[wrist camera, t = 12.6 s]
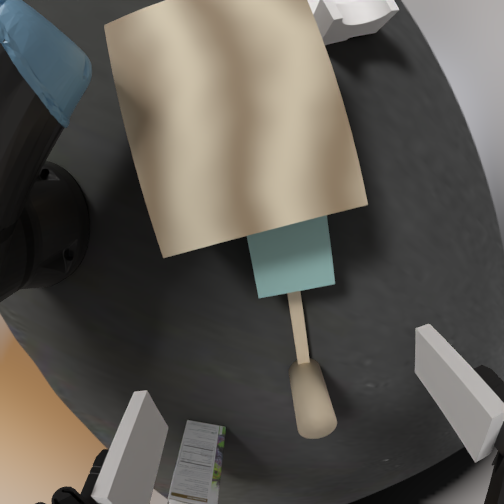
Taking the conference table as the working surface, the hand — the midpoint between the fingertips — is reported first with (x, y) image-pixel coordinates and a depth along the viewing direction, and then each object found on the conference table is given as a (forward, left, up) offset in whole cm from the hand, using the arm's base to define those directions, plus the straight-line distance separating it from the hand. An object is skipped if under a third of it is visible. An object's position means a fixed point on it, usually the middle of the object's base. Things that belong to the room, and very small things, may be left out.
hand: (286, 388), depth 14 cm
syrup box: (-15, -23, -21) cm, 35 cm away
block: (+2, -6, -21) cm, 22 cm away
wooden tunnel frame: (+1, +15, -21) cm, 26 cm away
